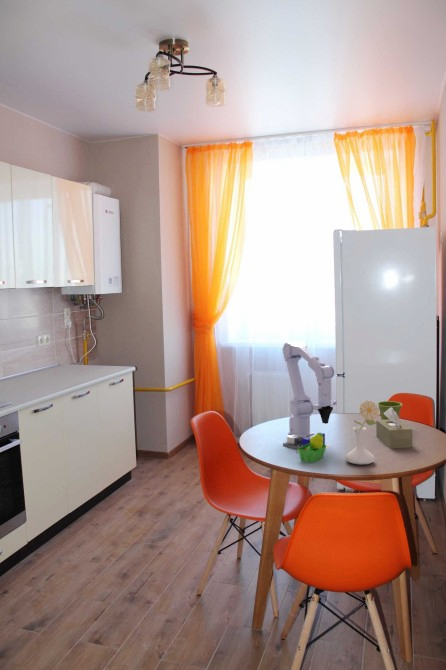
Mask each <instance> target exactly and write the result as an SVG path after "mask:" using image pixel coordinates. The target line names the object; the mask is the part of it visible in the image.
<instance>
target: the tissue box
mask: <svg viewBox="0 0 446 670" xmlns="http://www.w3.org/2000/svg"><path fill="white" fill-rule="evenodd" d="M384 415H385V416H386V417H388V418H389V420H381V419H376V420H375V422H376V424H375V426H376V427H375V428H376V429H375V431H376V432H375V434H376V438H378V440H380V441H381V442H382V443H383V444H384V445H385V446H387V447H388V448H389V449H402V448H406V449H407V448H413V428H411V427H409V426H408V425H406V424H405V423H404V422H401V421H400V416H399V417H398V415H397V413H396V412H395V411H394V410H393V408H392V407H391V408H389V409H388V410H387V411H386V412H384Z"/></svg>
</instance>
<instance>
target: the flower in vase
mask: <svg viewBox="0 0 446 670" xmlns="http://www.w3.org/2000/svg"><path fill="white" fill-rule="evenodd" d="M359 414H360V416H362V419H364V422H362V423H361V422H358V421H356V420H354V419H353V421H354V423H355V424H359V425H361V426H355V427H353V428H352V429H353V430H354V432H355V435H356V446H355V448H353V449H352V450H350V451H349V452H348V453H347V454H346V455H345V457H344V459H345V460H346V462H348V463H350V464H353V465H369V464H371V463H373V462H374V461H375V460H376V458H375V456H374V455H373V453H372V452H370V451H369V450H368V449H366V448H365V446H364V441H363V439H364V433H365V431H366V430H367V428H366V427H365V426H364V425H365V424H367V425H368V426H374V425H376V420H374V419H376V418H378V417H379V415H380V409H379V407H378V405H376V403H375V402H374V401H372V400H365V401H363V402H361V403H360V405H359Z"/></svg>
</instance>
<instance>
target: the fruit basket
mask: <svg viewBox="0 0 446 670" xmlns="http://www.w3.org/2000/svg"><path fill="white" fill-rule="evenodd" d="M321 433H322V432H317V433H316V434H315V435H313V436H312V437H310V438H309V439H310V443H309V444H307V445H304V446H299V447H300V448H298V449H297V451H299V452H298V454H299V457H300V462H307V463H311V464H312V463H314V462H317V461H318V460H321V459H322V458H324V455H325V451H326V449H327V448H326V446H327V445H326V444H325V445H323V435H322V434H321ZM325 448H326V449H325Z"/></svg>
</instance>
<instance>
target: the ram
mask: <svg viewBox="0 0 446 670" xmlns="http://www.w3.org/2000/svg"><path fill="white" fill-rule="evenodd" d="M302 438H304V437H303V435H299V434H293V435H292V434H289V435H287V436H286V442H287V444H290V445H294V446H298V447H300V446H301V445H302Z"/></svg>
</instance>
